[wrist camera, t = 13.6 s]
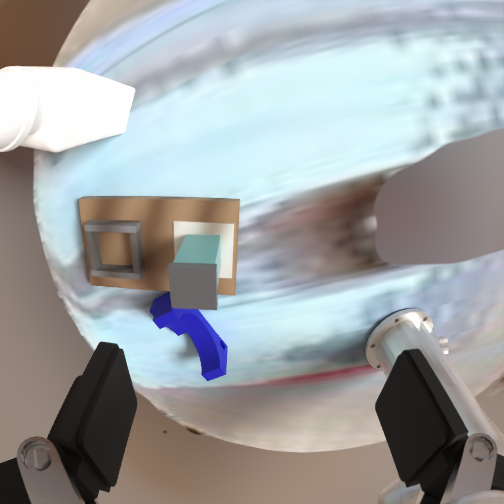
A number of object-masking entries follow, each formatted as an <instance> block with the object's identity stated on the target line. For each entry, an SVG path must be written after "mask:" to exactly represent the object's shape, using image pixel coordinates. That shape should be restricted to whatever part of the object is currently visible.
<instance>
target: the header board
mask: <svg viewBox="0 0 504 504" xmlns="http://www.w3.org/2000/svg"><path fill="white" fill-rule="evenodd" d="M239 206H240V199H226V198H200V197H159V196H87V197H82V198H81V199H79V208H80V217H81V226H82V234H83V241H84V248H85V254H86V261H87V267H88V272H89V278H90V283H91V285H96V286H106V287H118V288H130V289H142V290H156V291H170V287H169V277H168V265H169V263H173V262H174V259H175V257H176V255H177V253H178V251H179V249H180V247H181V244H182V242H183V240H184V238H185V236H186V234H197V235H221V268H220V275H219V282H218V289H217V294H221V295H235V290H236V267H237V246H238V225H239Z"/></svg>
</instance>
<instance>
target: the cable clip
mask: <svg viewBox="0 0 504 504" xmlns="http://www.w3.org/2000/svg"><path fill="white" fill-rule="evenodd" d="M150 312H151V314H152V315H153V316H154V318H153V321H154V323H155V324H156V325H157V326H158V327H159V329H161V328H163V327H168V328H170V329H171V330H172V331H174V332H175V333H176V334H177V335H178V336H179V335H181V334H183V333H186V332H187V334H188V335H189V336H190V338H191V339H192V341H193V343H194V345H195V347H196V349H197V351H198V354H199V357H200V361H201V367H202V374H201V375H202V376H203V377H204V378H205V379H206V380H207V381H210V380H212V379H215V378H218V377H220V376H223V375H226V366H227V348H228V347H227V345H226V344H225V343H224V342H223V340H222V339H221V338H220V337H219V335H218V334H217V333H216V332H215V330H214V329H213V328H212V327H211V325H210V324H209V323H208V322H207V320H206V319H205V318H204V317H203V315H202V314H201V313H200V311H199V310H198V309H179V308H172V306H171V297H170V292H168V293H166V294H164V295H162V296H160V297H158V298H157V299H155V300H154V302H153V304H152V306H151V309H150Z"/></svg>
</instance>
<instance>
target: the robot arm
mask: <svg viewBox="0 0 504 504" xmlns="http://www.w3.org/2000/svg"><path fill="white" fill-rule="evenodd" d="M447 343H448V337H447V336H444V337H437V336H436V335H435V333H434V324H433V321H432V319H431V318H430V316H429V315H428V314H427V313H426V312H424V311H422V310H420V309H405V310H401V311H399V312H396V313H394V314H392V315H391V316H389V317H387V318H386V319H385V320H383V321H382V322H381V323H380V324H379V325H378V326H377V327H376V328H375V329H374V330H373V332H372V333H371V335H370V336H369V338H368V340H367V343H366V347H365V355H366V358H367V360H368V362H369V364H370V365H371V366H372V367H373V368H375V369H377V370H381V371H383V372H384V374H385V376H386V378H387V381H386V383H385V385H384V387H383V389H382V391H381V393H380V395H379V397H378V399H377V401H376V404H375V410H376V413H377V416H378V418H379V421H380V424H381V426H382V429H383V432H384V434H385V437H386V440H387V443H388V445H389V448H390V451H391V454H392V457H393V460H394V462H395V465H396V468H397V471H398V474H399V477H400V478H399V479H397V480H396V481H394V482H392V483H391V484H389V485H388V486H386V487H385V488H384V489H383V490H382V492H381V493H380V495H379V498H378V504H504V436H503V435H502V434H501V432H500V431H499V430H498V429H497V428H496V427H495V425H494V424H493V423H492V422H491V420H490V419H489V418H488V417H487V415H486V414H485V413H484V411H483V410H482V409H481V407H480V405H479V404H478V403H477V401H476V400H475V398H474V397H473V395H472V393H471V392H470V390H469V389H468V387H467V386H466V384H465V383H464V381H463V380H462V378H461V377H460V375H459V374H458V372H457V371H456V369H455V368H454V366H453V365H452V363H451V362H450V360H449V359H448V357H447V355H448V347H447V346H439V345H443V344H447ZM136 409H137V399H136V395H135V392H134V388H133V385H132V381H131V378H130V374H129V370H128V367H127V363H126V359H125V355H124V351H123V349H120V348H119V347H118V345H117V344H115V343H108V342H100V343H99V344H98V346H97V348H96V350H95V351H94V353H93V355H92V357H91V359H90V361H89V363H88V365H87V367H86V369H85V371H84V373H83V375H82V376H78V377H77V378H76V379H75V381H74V383H73V385H72V387H71V389H70V391H69V393H68V395H67V397H66V399H65V401H64V403H63V405H62V407H61V409H60V411H59V413H58V415H57V417H56V419H55V422H54V424H53V426H52V428H51V430H50V433H49V435H48V437H47V439H45V438H43V437H38V436H36V437H30V438H28V439H26V440H25V441H24V442H23V443H21V444H20V446H19V448H18V451H17V457H16V458H14V459H11V460H8V461H5V462H2V463H0V504H99V503H98V501H97V499H96V498H97V497H98V493H99V490H102V491H106V492H110V488H111V486H113V487H114V486H115V484H116V482H117V479H118V474H119V470H120V467H121V462H122V459H123V455H124V452H125V448H126V444H127V440H128V437H129V433H130V430H131V426H132V423H133V419H134V416H135V412H136Z"/></svg>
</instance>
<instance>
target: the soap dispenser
mask: <svg viewBox="0 0 504 504" xmlns="http://www.w3.org/2000/svg"><path fill="white" fill-rule="evenodd" d="M134 94H135V88H133V87H130V86H127V85H124V84H121V83H119V82H116V81H113V80H110V79H107V78H104V77H102V76H99V75H96V74H93V73H90V72H87V71H84V70H81V69H77V68H72V67H21V66H10V67H5V68H3V69H1V70H0V152H7V151H11V150H13V149H15V148H16V147H18V146H24V147H30V148H35V149H40V150H44V151H49V152H54V153H57V152H61V151H64V150H67V149H70V148H74V147H77V146H80V145H83V144H87V143H90V142H94V141H97V140H101V139H104V138H108V137H112V136H116V135H120V134H123V133H124V132H125V129H126V125H127V121H128V117H129V113H130V109H131V105H132V101H133V97H134Z"/></svg>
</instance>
